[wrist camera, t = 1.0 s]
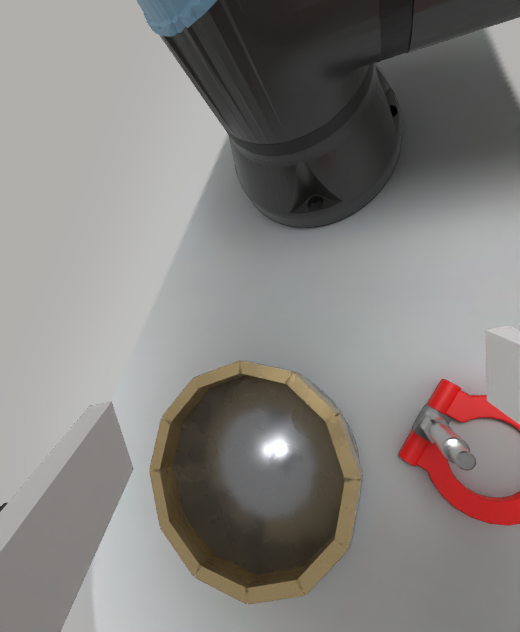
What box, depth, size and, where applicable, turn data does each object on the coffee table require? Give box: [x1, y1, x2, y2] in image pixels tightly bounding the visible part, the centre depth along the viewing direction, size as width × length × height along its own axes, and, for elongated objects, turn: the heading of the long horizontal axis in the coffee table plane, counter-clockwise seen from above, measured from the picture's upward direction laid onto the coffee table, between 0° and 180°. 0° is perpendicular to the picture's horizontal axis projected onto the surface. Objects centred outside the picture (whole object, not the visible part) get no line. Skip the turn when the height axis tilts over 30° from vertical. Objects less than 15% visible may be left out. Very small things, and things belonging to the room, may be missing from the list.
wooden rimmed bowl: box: [150, 361, 363, 604], centre depth 29 cm, size 17×17×4 cm
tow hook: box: [398, 379, 520, 525], centre depth 19 cm, size 8×13×9 cm
